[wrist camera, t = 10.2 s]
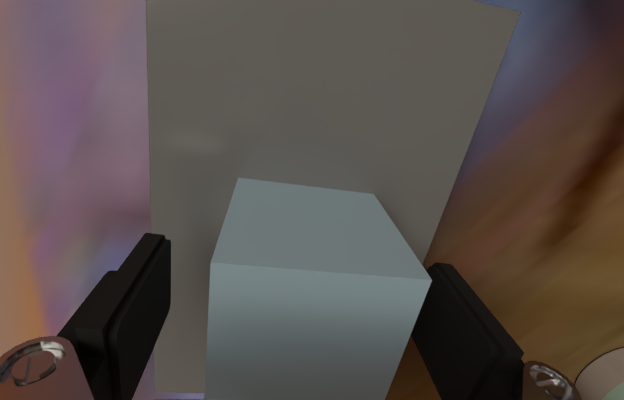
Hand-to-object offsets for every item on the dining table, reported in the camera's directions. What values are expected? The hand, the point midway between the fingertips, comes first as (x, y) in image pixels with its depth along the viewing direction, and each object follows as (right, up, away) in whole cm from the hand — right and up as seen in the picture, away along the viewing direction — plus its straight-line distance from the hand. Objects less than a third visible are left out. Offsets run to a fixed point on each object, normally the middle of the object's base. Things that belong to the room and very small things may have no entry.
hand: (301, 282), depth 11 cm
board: (0, +2, +4) cm, 4 cm away
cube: (0, +1, +2) cm, 3 cm away
